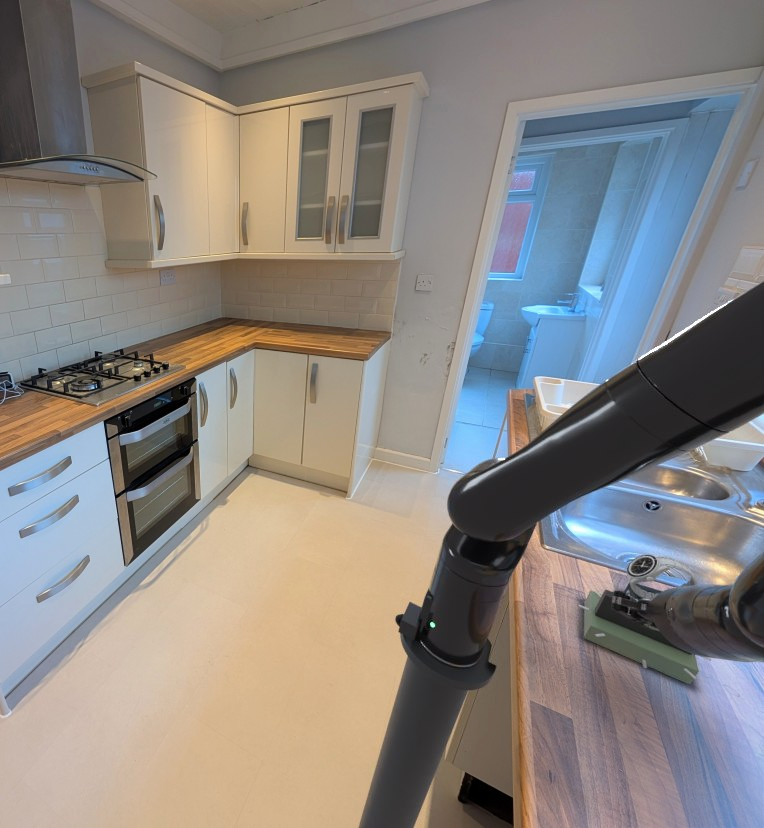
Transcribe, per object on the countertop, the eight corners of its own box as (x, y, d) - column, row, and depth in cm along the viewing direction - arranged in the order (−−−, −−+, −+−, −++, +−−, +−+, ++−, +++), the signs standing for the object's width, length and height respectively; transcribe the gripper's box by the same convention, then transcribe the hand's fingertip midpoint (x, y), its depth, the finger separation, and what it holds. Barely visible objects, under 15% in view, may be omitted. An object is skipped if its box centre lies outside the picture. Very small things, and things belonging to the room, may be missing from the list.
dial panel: (570, 651, 66) (577, 637, 65) (572, 590, 77) (579, 577, 76) (711, 715, 57) (723, 701, 56) (691, 637, 68) (701, 623, 67)
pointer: (594, 615, 68) (606, 594, 66) (594, 608, 70) (605, 587, 68) (691, 655, 62) (707, 633, 60) (689, 647, 63) (704, 625, 61)
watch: (608, 589, 77) (633, 542, 72) (668, 608, 73) (699, 560, 69) (615, 612, 73) (642, 563, 68) (679, 633, 69) (713, 583, 64)
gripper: (808, 615, 45) (713, 615, 59) (639, 564, 51) (591, 575, 66) (804, 690, 43) (707, 671, 57) (630, 627, 49) (582, 624, 64)
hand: (645, 620), depth 61 cm, fingers closed
